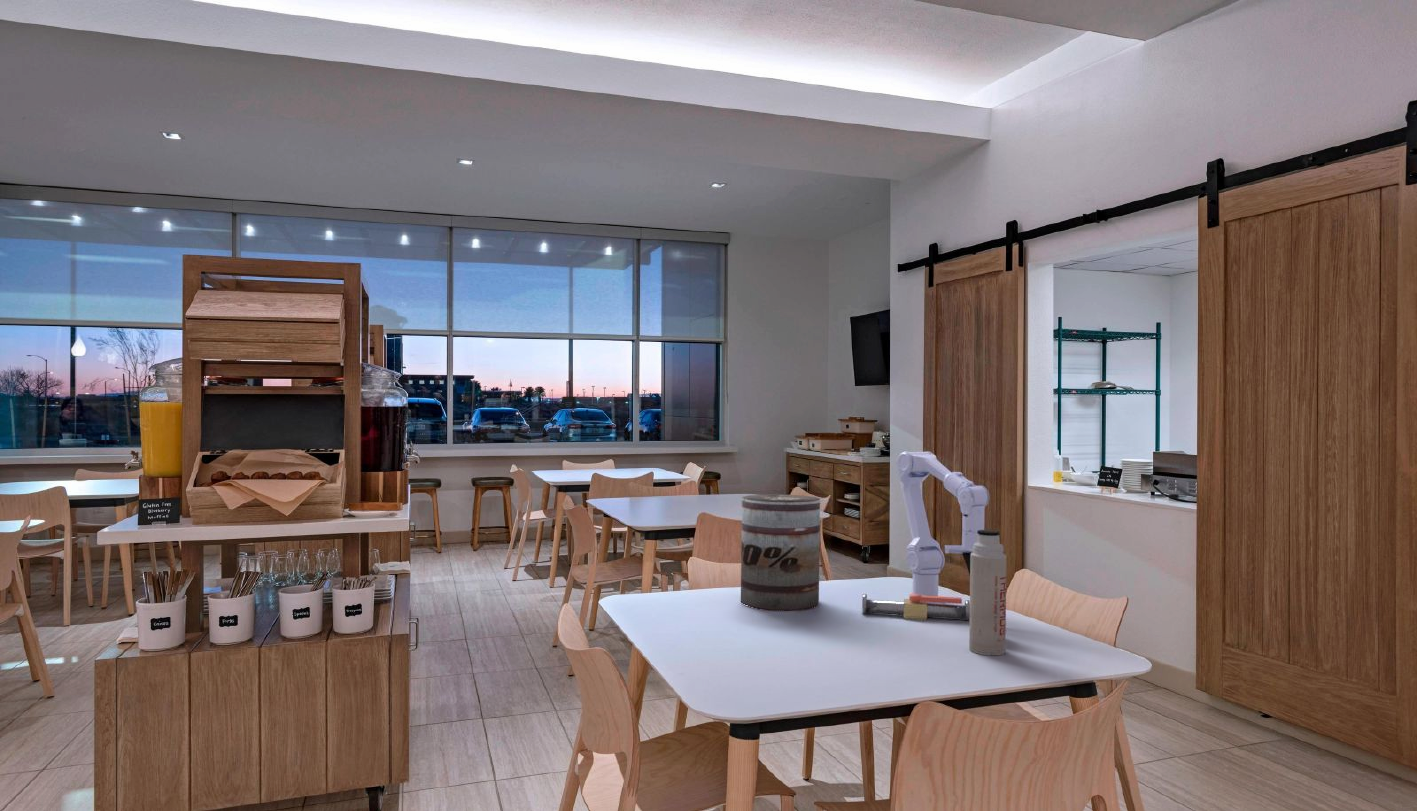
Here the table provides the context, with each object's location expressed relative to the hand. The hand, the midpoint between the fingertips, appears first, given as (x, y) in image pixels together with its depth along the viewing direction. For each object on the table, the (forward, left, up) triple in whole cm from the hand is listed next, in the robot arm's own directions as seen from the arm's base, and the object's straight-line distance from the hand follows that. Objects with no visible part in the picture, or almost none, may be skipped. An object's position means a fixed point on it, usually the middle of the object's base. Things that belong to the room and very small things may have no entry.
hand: (972, 581), depth 232 cm
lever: (+3, -10, -6) cm, 12 cm away
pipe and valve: (+3, -15, -10) cm, 18 cm away
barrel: (-4, -53, -10) cm, 54 cm away
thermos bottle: (+33, +1, -10) cm, 35 cm away
